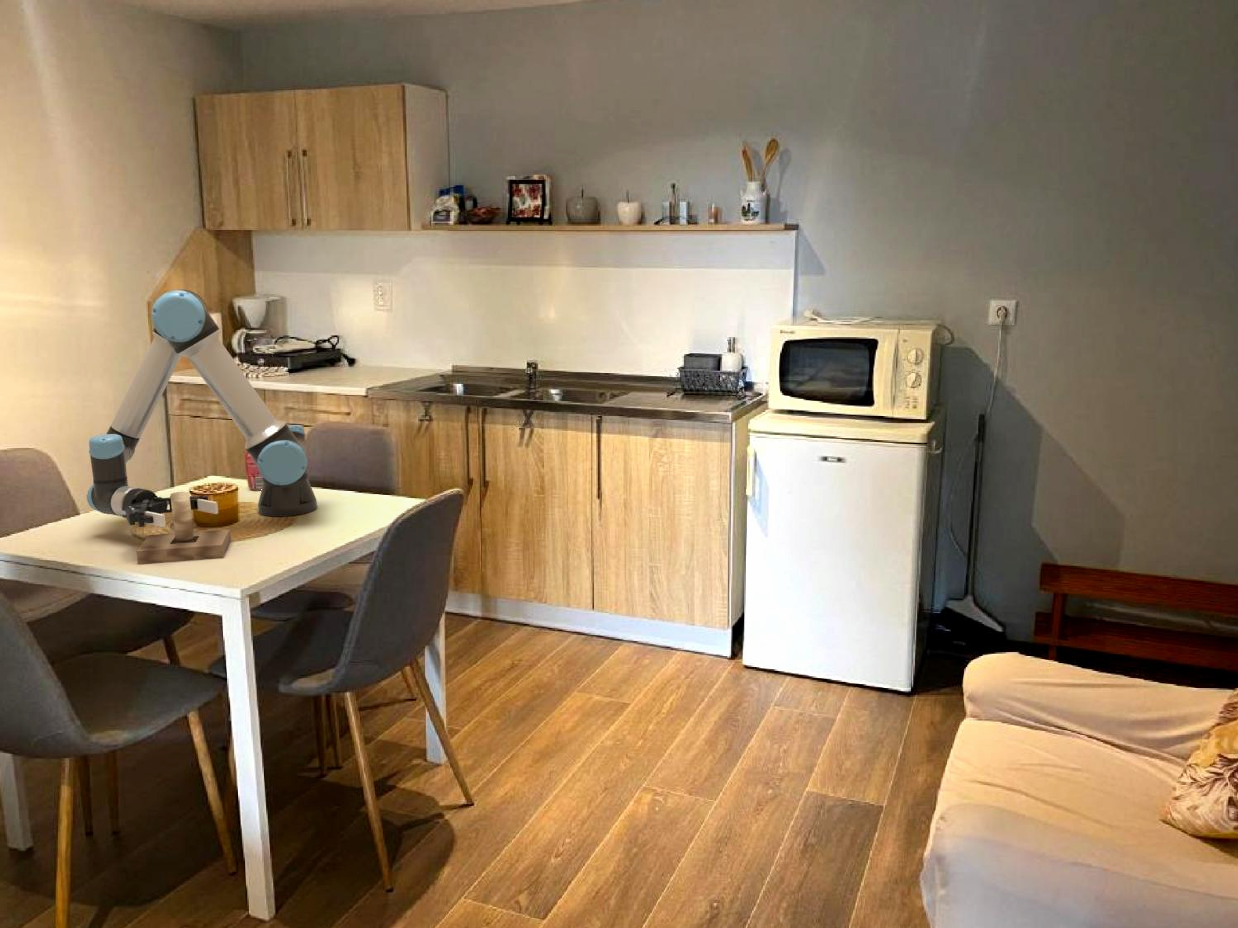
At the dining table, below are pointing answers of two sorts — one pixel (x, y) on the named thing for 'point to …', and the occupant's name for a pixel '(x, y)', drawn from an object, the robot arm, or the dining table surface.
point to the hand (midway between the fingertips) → (190, 514)
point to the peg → (182, 517)
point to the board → (184, 547)
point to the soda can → (253, 474)
